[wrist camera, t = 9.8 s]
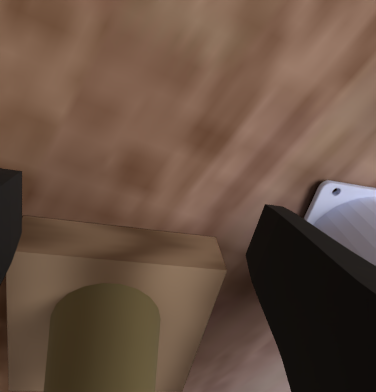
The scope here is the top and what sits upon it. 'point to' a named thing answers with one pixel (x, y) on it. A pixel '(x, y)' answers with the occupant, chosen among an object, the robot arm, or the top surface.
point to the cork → (103, 341)
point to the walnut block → (115, 274)
